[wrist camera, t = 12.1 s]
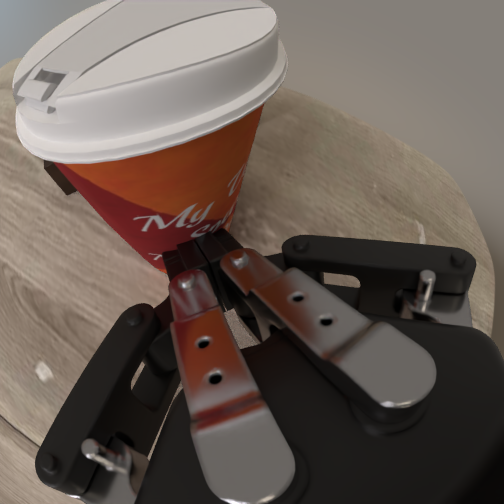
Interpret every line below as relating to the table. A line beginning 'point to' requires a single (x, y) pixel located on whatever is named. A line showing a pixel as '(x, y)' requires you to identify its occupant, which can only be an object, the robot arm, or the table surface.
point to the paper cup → (152, 110)
